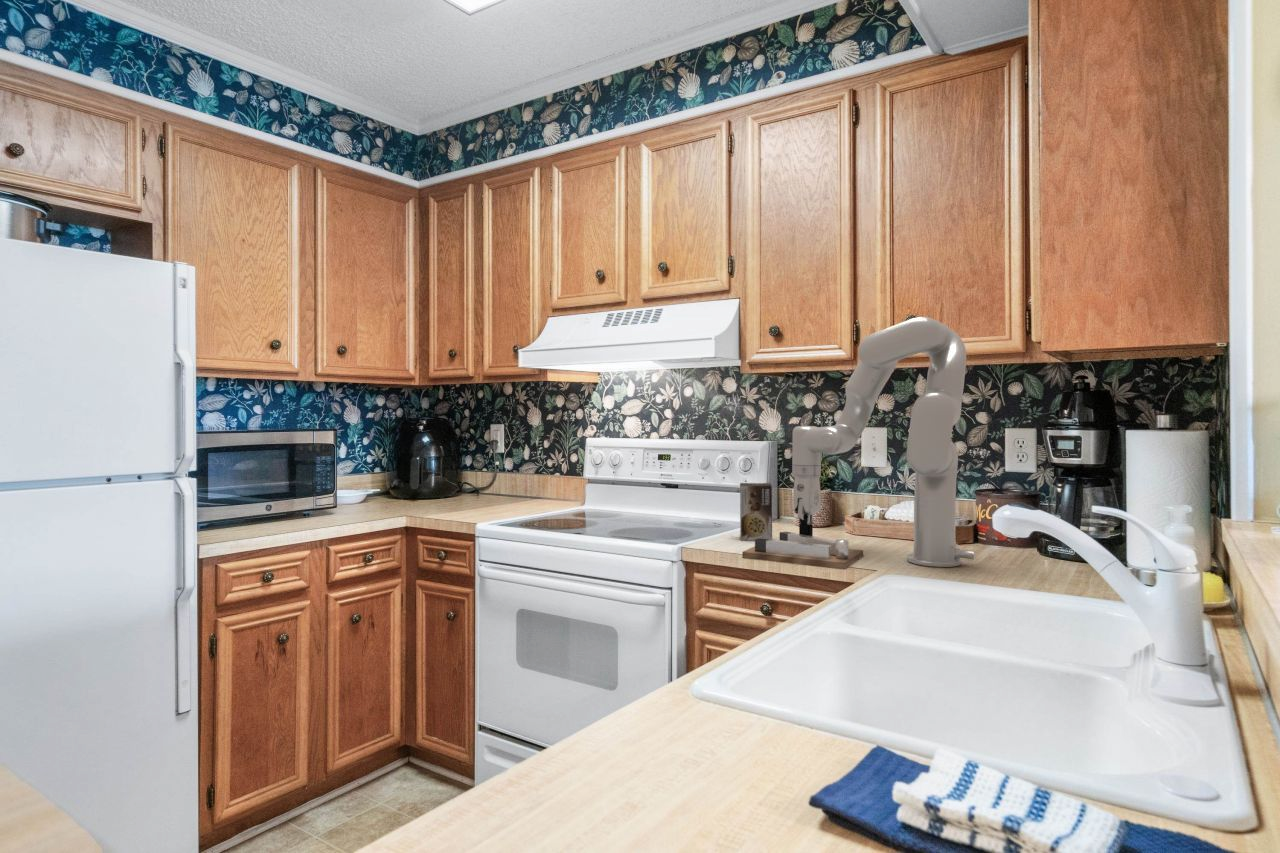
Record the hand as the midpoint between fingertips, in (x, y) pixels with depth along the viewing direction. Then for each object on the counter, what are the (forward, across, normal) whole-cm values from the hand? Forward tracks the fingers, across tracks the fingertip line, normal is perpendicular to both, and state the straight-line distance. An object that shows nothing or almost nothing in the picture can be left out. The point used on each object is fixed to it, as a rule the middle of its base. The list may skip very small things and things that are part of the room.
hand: (805, 538), depth 203 cm
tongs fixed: (+1, -16, -4) cm, 17 cm away
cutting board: (+3, -12, -3) cm, 12 cm away
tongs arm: (+1, -9, -4) cm, 10 cm away
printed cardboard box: (+3, +6, +17) cm, 18 cm away
